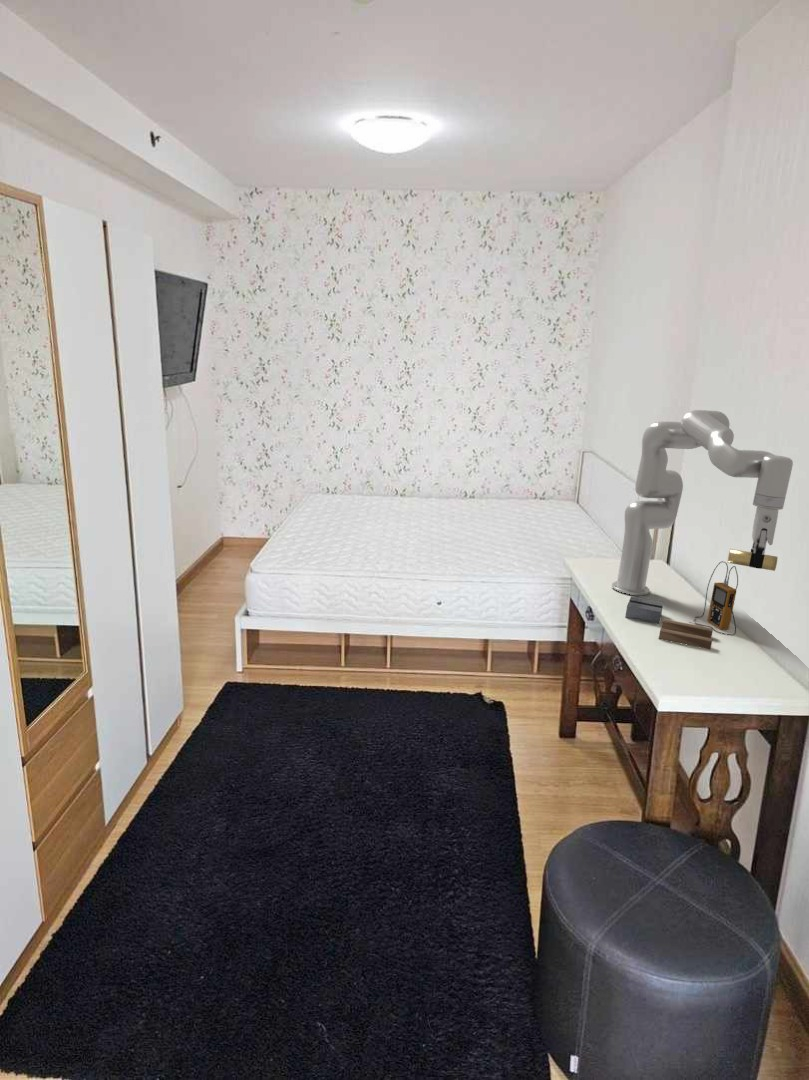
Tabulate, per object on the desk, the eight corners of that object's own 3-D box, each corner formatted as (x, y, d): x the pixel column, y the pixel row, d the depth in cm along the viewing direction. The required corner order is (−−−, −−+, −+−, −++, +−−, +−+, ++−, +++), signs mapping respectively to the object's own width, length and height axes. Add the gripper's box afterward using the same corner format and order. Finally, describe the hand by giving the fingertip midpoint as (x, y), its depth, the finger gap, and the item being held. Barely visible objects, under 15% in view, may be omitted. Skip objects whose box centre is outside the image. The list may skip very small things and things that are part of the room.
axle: (727, 565, 203) (730, 552, 201) (727, 559, 206) (730, 546, 204) (774, 573, 198) (777, 560, 197) (774, 567, 202) (777, 554, 200)
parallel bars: (661, 626, 220) (663, 618, 219) (711, 636, 214) (712, 628, 214) (658, 638, 209) (660, 630, 209) (710, 649, 204) (712, 641, 204)
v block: (629, 608, 234) (631, 596, 233) (661, 614, 230) (663, 602, 229) (625, 617, 225) (627, 605, 224) (658, 624, 221) (660, 612, 220)
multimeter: (679, 617, 229) (690, 556, 223) (707, 617, 231) (719, 557, 226) (707, 635, 215) (720, 571, 210) (736, 635, 217) (750, 572, 212)
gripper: (786, 509, 188) (771, 575, 192) (781, 498, 203) (768, 560, 207) (754, 504, 190) (740, 570, 195) (752, 494, 205) (739, 556, 210)
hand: (755, 564), depth 201 cm, fingers closed on axle, 4 cm apart
